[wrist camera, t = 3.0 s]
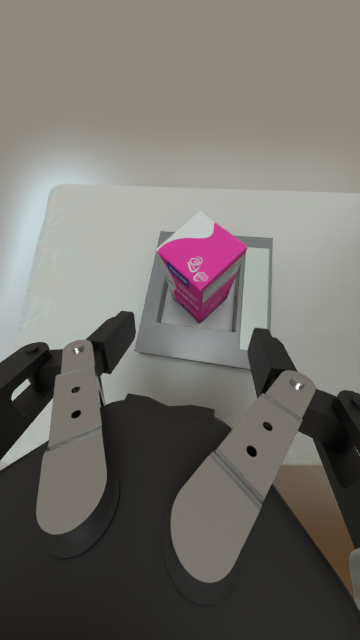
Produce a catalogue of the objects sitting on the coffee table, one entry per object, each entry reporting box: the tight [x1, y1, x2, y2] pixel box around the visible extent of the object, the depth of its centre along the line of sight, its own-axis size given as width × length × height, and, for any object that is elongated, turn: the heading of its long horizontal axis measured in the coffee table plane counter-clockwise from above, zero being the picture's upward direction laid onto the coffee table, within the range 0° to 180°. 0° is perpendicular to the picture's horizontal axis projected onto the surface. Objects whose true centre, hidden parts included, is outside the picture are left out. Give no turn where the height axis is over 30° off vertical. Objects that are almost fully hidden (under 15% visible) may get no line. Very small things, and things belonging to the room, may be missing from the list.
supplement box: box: [156, 211, 247, 323], centre depth 20 cm, size 6×6×12 cm
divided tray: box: [134, 231, 273, 370], centre depth 24 cm, size 16×18×3 cm
